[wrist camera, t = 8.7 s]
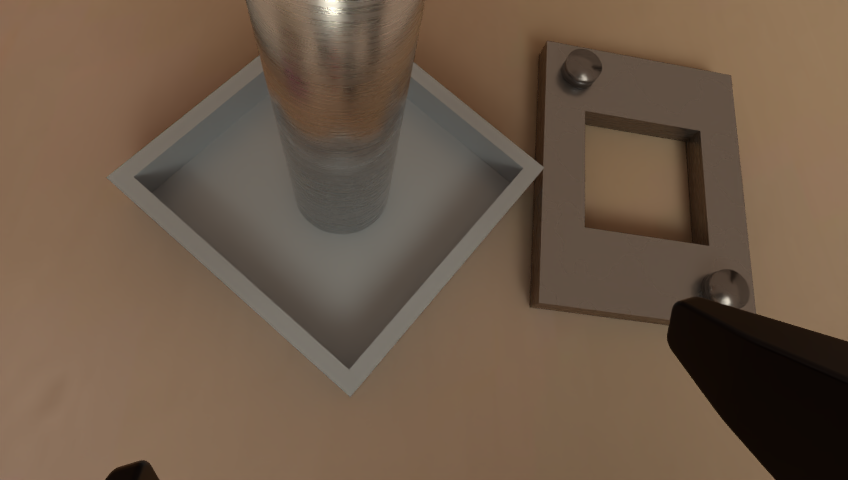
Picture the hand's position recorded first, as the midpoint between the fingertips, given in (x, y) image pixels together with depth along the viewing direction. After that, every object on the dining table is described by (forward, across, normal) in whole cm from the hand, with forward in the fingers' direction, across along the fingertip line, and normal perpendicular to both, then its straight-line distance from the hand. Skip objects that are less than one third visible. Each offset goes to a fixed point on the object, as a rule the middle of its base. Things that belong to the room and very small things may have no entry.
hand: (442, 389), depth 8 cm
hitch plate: (+11, -12, +3) cm, 17 cm away
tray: (+13, 0, +2) cm, 13 cm away
